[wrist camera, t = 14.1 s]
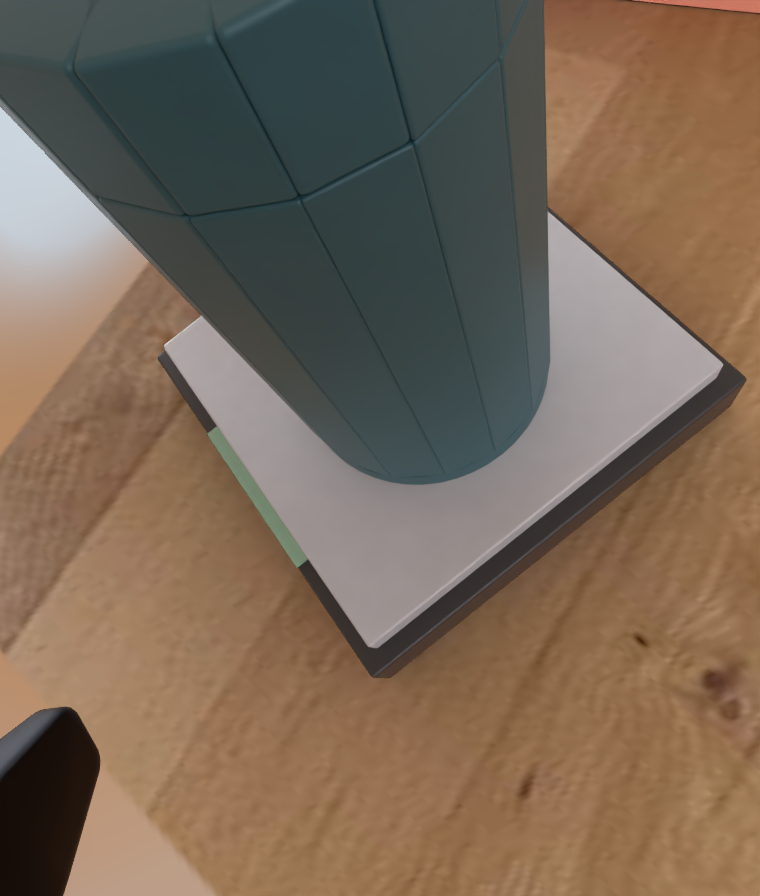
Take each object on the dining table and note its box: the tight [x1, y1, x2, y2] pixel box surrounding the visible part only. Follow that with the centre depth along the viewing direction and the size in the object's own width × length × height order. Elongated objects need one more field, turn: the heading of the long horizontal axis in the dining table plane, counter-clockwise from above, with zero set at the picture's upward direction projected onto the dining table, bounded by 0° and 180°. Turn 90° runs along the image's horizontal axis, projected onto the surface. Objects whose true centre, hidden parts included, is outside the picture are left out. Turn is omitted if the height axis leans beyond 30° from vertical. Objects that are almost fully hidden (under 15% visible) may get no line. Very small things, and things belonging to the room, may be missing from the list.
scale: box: [158, 207, 746, 678], centre depth 20 cm, size 12×12×3 cm
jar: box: [0, 0, 550, 485], centre depth 13 cm, size 7×7×13 cm
